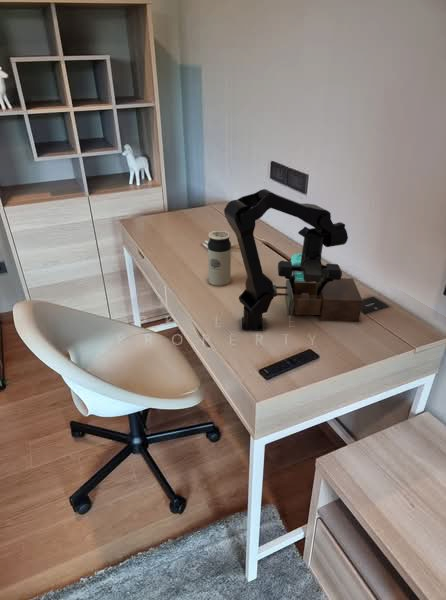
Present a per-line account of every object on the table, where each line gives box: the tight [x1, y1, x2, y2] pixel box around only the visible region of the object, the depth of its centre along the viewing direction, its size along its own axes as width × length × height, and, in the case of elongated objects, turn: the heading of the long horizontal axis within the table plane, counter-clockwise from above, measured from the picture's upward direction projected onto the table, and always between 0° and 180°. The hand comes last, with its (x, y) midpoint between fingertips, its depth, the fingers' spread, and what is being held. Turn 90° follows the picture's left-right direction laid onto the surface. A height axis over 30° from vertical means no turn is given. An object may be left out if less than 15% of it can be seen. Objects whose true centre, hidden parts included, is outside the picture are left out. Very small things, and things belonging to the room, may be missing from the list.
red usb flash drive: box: [300, 293, 310, 299], centre depth 137 cm, size 9×2×3 cm, turn 177°
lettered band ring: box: [202, 240, 235, 249], centre depth 179 cm, size 18×10×6 cm, turn 27°
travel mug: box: [207, 230, 232, 287], centre depth 151 cm, size 8×8×18 cm
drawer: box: [273, 279, 323, 317], centre depth 137 cm, size 15×13×6 cm
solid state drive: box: [361, 296, 389, 315], centre depth 141 cm, size 7×10×1 cm
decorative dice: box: [290, 252, 306, 282], centre depth 156 cm, size 8×8×8 cm
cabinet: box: [318, 277, 364, 323], centre depth 137 cm, size 12×15×8 cm
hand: (305, 294), depth 134 cm, fingers open, 7 cm apart
